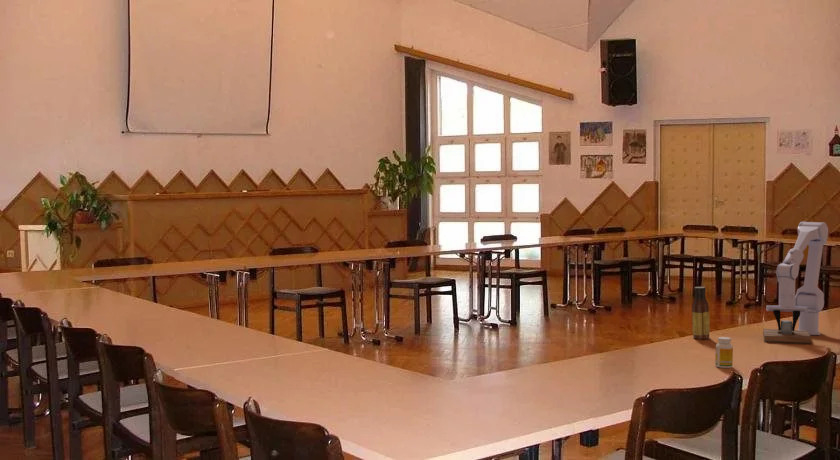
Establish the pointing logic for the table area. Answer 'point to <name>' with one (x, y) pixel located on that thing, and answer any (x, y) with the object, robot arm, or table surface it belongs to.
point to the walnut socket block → (786, 336)
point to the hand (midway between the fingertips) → (786, 330)
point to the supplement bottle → (724, 353)
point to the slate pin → (786, 327)
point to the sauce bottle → (700, 315)
